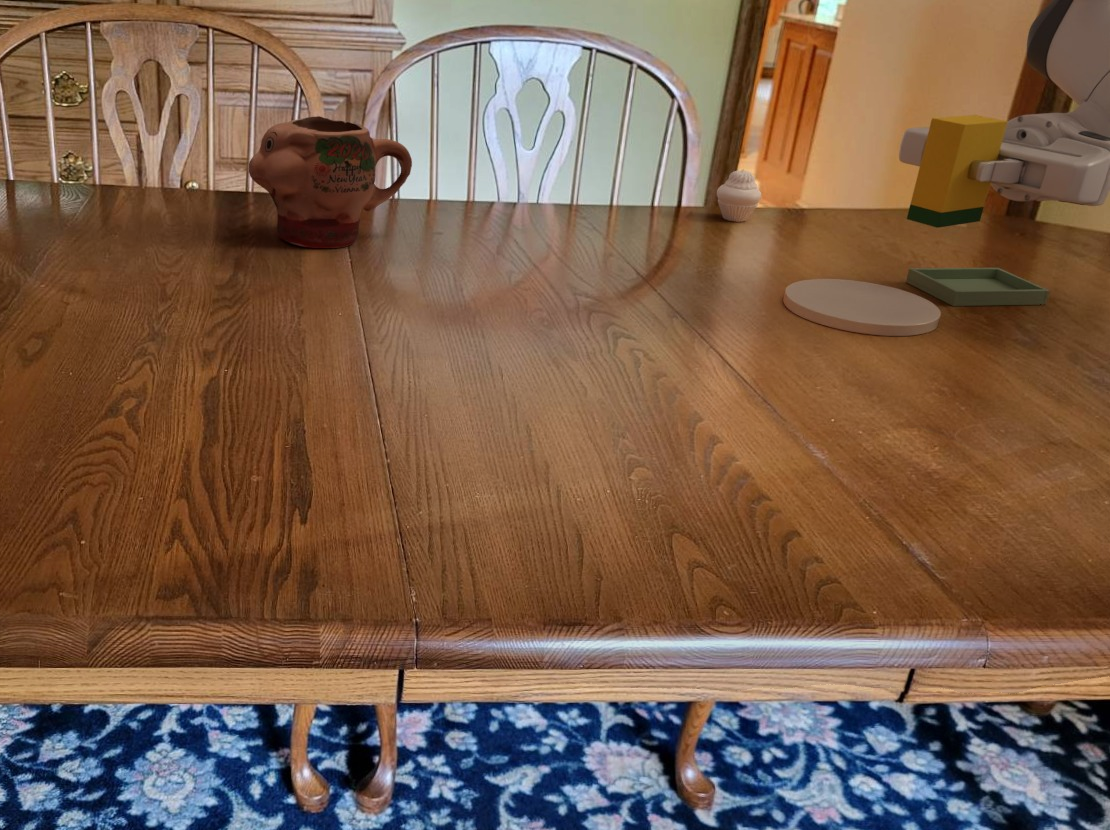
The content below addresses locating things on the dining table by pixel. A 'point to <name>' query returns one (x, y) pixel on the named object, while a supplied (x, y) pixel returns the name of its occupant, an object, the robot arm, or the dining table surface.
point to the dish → (977, 286)
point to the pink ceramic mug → (323, 178)
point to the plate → (861, 307)
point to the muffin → (738, 196)
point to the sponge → (954, 170)
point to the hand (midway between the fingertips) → (952, 166)
